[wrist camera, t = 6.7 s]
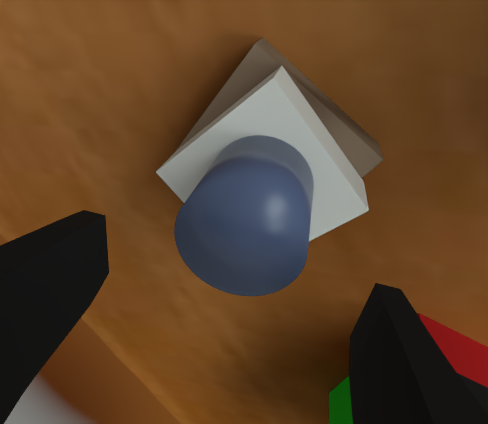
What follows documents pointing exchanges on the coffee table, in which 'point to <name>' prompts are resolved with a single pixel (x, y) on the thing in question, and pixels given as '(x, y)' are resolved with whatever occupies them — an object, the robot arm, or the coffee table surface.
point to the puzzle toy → (458, 354)
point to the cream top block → (284, 128)
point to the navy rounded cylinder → (249, 218)
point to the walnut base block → (333, 118)
